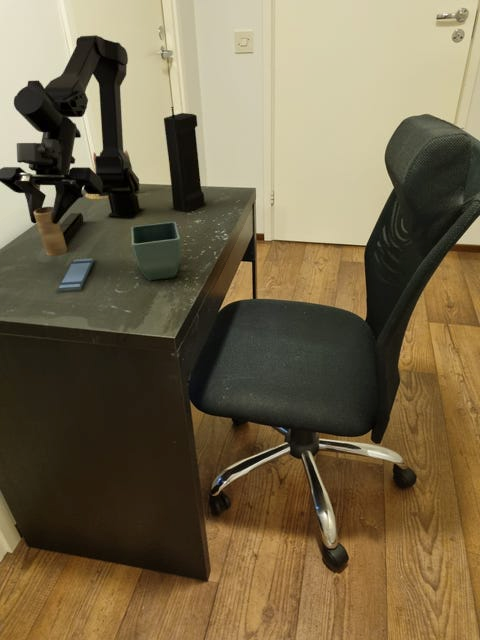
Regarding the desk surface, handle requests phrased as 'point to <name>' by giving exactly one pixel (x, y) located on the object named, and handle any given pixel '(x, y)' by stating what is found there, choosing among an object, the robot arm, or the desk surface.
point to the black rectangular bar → (71, 225)
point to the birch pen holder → (50, 232)
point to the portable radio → (183, 161)
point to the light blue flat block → (76, 275)
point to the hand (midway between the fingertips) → (43, 222)
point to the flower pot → (157, 249)
